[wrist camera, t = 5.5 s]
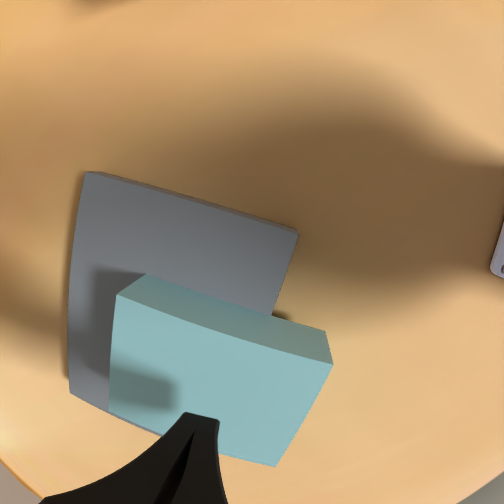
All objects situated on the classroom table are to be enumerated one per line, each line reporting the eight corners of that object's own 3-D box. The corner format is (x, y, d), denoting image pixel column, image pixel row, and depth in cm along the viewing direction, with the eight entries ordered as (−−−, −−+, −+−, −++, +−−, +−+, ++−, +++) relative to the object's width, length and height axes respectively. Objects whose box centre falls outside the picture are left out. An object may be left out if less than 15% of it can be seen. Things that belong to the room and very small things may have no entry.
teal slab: (333, 364, 11) (116, 294, 11) (275, 466, 13) (108, 410, 13) (325, 331, 14) (146, 273, 14) (277, 429, 16) (131, 380, 16)
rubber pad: (297, 229, 15) (298, 234, 13) (220, 440, 18) (216, 455, 17) (100, 171, 15) (85, 171, 14) (80, 382, 19) (69, 392, 17)
